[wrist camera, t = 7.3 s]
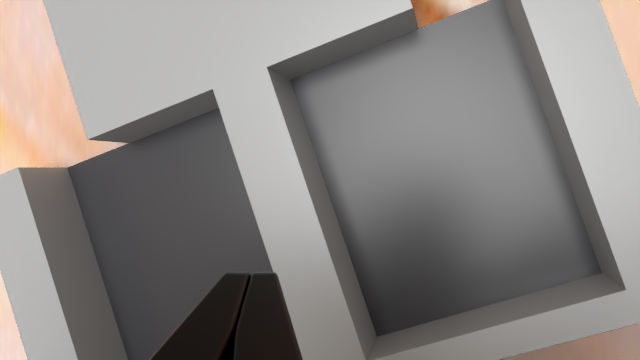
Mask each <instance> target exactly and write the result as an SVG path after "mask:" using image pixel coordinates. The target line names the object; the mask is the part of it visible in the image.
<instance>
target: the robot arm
mask: <svg viewBox="0 0 640 360" xmlns="http://www.w3.org/2000/svg"><path fill="white" fill-rule="evenodd" d="M149 360H303V358H302V355H301V352H300V348H299V345H298V342H297V338H296V335H295V332H294V328H293V325H292V321H291V318H290V315H289V311H288V308H287V305H286V301H285V298H284V295H283V291H282V288H281V285H280V281H279V278H278V275H277V274H276V273H275V272H254V273H253V274H252V275H251V274H250V273H249V272H227V273H225V274H224V275H223V276H222V277H221V278H220V279H219V280H218V281H217V283H216V284H215V285H214V286H213V287H212V288H211V289H210V291H209V292H208V293H207V294H206V295H205V296H204V297H203V299H202V300H201V301H200V302H199V303H198V304H197V305H196V306H195V308H194V309H193V310H192V311H191V312H190V313H189V314H188V316H187V317H186V318H185V319H184V320H183V321H182V322H181V324H180V325H179V326H178V327H177V328H176V329H175V330H174V332H173V333H172V334H171V335H170V336H169V337H168V338H167V340H166V341H165V342H164V343H163V344H162V345H161V346H160V348H159V349H158V350H157V351H156V352H155V353H154V354H153V356H152V357H151V358H150V359H149Z"/></svg>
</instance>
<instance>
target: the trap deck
mask: <svg viewBox="0 0 640 360" xmlns="http://www.w3.org/2000/svg"><path fill="white" fill-rule="evenodd" d="M43 2H44V5H45V8H46V11H47V14H48V17H49V21H50V24H51V27H52V30H53V33H54V36H55V39H56V43H57V46H58V49H59V52H60V55H61V58H62V61H63V65H64V68H65V71H66V74H67V77H68V80H69V83H70V87H71V90H72V93H73V96H74V99H75V102H76V105H77V109H78V112H79V115H80V118H81V121H82V124H83V127H84V131H85V134H86V137H87V140H98V141H111V142H124V143H129V144H126V145H124V146H121V147H119V148H116V149H113V150H111V151H108V152H106V153H103V154H101V155H98V156H96V157H93V158H91V159H88V160H86V161H83V162H81V163H78V164H76V165H73V166H71V167H68V168H16V169H14V170H11V171H9V172H6V173H4V174H1V175H0V271H1V274H2V277H3V281H4V284H5V287H6V290H7V294H8V297H9V300H10V303H11V307H12V310H13V313H14V317H15V320H16V323H17V326H18V330H19V333H20V336H21V339H22V343H23V346H24V349H25V353H26V356H27V359H28V360H149V359H150V358H151V357H152V356H153V354H154V353H155V352H156V351H157V350H158V349H159V348H160V346H161V345H162V344H163V343H164V342H165V341H166V340H167V338H168V337H169V336H170V335H171V334H172V333H173V332H174V330H175V329H176V328H177V327H178V326H179V325H180V324H181V322H182V321H183V320H184V319H185V318H186V317H187V316H188V314H189V313H190V312H191V311H192V310H193V309H194V308H195V306H196V305H197V304H198V303H199V302H200V301H201V300H202V299H203V297H204V296H205V295H206V294H207V293H208V292H209V291H210V289H211V288H212V287H213V286H214V285H215V284H216V283H217V281H218V280H219V279H220V278H221V277H222V276H223V275H224V274H225V273H227V272H249V273H250V274H251V275H252V274H253V273H254V272H275V273H276V274H277V275H278V278H279V281H280V285H281V288H282V291H283V295H284V298H285V301H286V305H287V308H288V311H289V315H290V318H291V321H292V325H293V328H294V332H295V335H296V338H297V342H298V345H299V348H300V352H301V355H302V358H303V360H500V359H504V358H508V357H512V356H515V355H519V354H523V353H527V352H531V351H534V350H538V349H542V348H546V347H550V346H554V345H557V344H561V343H565V342H569V341H573V340H576V339H580V338H584V337H588V336H592V335H595V334H599V333H603V332H607V331H611V330H615V329H618V328H622V327H626V326H630V325H634V324H637V323H640V108H639V105H638V103H637V100H636V97H635V94H634V92H633V89H632V86H631V84H630V81H629V78H628V76H627V73H626V70H625V68H624V65H623V62H622V59H621V57H620V54H619V51H618V49H617V46H616V43H615V41H614V38H613V35H612V33H611V30H610V27H609V25H608V22H607V19H606V16H605V14H604V11H603V8H602V6H601V3H600V0H490V1H487V2H485V3H482V4H480V5H477V6H475V7H472V8H470V9H467V10H464V11H462V12H459V13H457V14H454V15H452V16H449V17H447V18H444V19H442V20H439V21H437V22H434V23H432V24H429V25H427V26H424V27H422V28H419V29H418V27H417V22H416V18H415V14H414V10H413V6H412V4H411V1H410V0H43Z"/></svg>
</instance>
